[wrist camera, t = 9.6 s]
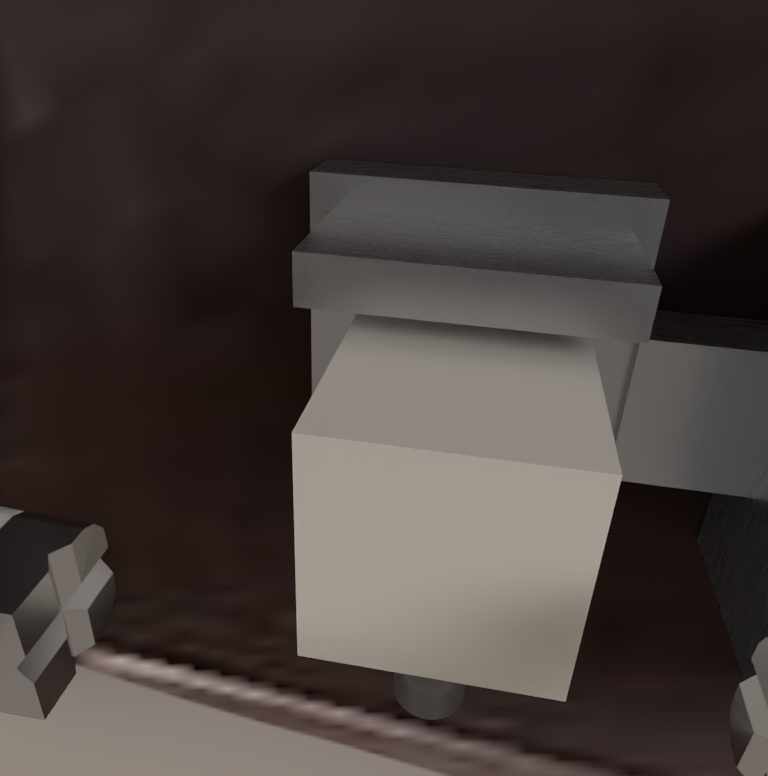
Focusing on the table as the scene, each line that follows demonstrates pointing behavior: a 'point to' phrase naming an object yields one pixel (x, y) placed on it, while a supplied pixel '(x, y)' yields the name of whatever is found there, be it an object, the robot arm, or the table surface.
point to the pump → (452, 507)
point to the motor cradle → (563, 325)
